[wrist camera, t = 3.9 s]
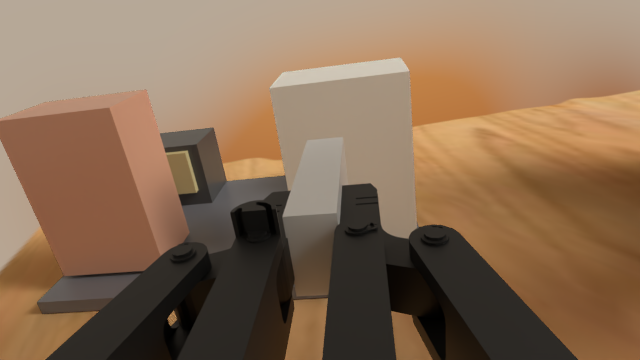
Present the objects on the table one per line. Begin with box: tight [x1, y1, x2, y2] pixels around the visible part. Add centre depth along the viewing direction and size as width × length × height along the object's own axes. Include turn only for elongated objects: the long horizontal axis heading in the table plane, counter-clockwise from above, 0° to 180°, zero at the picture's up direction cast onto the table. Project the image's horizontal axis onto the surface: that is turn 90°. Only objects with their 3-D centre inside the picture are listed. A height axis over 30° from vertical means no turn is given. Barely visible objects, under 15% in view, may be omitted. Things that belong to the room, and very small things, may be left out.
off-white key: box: [269, 58, 417, 239], centre depth 29 cm, size 5×8×12 cm, turn 86°
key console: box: [37, 128, 419, 314], centre depth 35 cm, size 18×27×7 cm
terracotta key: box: [0, 90, 190, 276], centre depth 31 cm, size 5×8×12 cm, turn 86°
